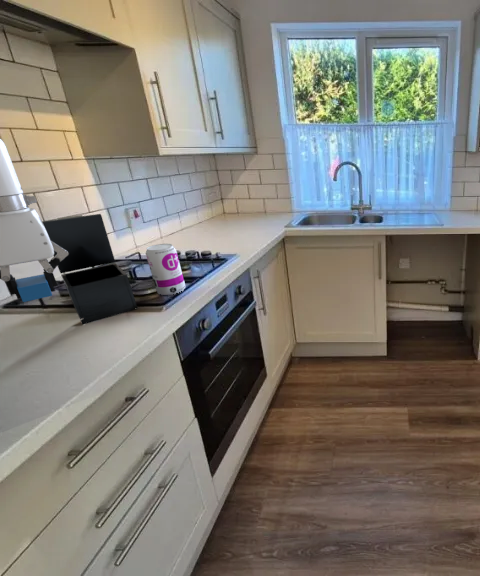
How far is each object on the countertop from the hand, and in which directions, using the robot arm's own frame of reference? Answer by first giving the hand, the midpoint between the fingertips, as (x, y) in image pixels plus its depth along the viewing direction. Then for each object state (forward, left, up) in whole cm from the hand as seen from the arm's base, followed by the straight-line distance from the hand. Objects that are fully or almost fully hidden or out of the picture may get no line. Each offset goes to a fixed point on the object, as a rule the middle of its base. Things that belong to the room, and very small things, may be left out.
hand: (36, 292), depth 75 cm
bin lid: (-13, +30, +2) cm, 33 cm away
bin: (-10, +26, -17) cm, 33 cm away
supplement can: (+3, +38, -17) cm, 42 cm away
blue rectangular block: (0, 0, 0) cm, 0 cm away
